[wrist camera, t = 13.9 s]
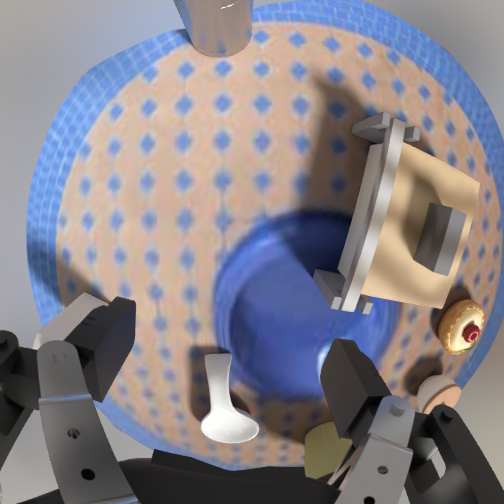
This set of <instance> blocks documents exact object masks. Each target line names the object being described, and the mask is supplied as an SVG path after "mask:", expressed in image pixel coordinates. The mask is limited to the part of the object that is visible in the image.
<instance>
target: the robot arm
mask: <svg viewBox="0 0 504 504" xmlns="http://www.w3.org/2000/svg"><path fill="white" fill-rule="evenodd" d="M174 3H175V5H176V7H177V9H178V11H179V14H180V16H181V18H182V20H183V23H184V25H185V27H186V30H187V32H188V35H189V37H190V39H191V41H192V43H193V46H194V47H195V48H196V49H197V50H198V51H199V52H200V53H202V54H204V55H206V56H210V57H227V56H230V55H233V54H236V53H238V52H239V51H241V50H242V49H244V48H245V46H246V45H247V44H248V43H249V41H250V38H251V33H252V16H253V0H174ZM135 321H136V303H135V301H133V300H129V299H126V298H122V297H118V296H117V297H116V298H115V299H114V300H113V301H112V302H111V303H110V304H109V305H108V306H105V305H102V306H99V307H97V308H95V309H93V310H92V311H91V312H90V313H89V314H88V315H87V316H86V317H85V318H84V319H83V320H82V321H81V323H79V324H78V325H77V326H76V327H75V328H74V329H73V330H72V332H71V333H70V334H69V335H68V336H67V337H66V338H65V339H64V340H63V341H62V340H53V341H48V342H46V343H44V344H43V345H41V346H40V347H39V349H38V350H35V349H29V348H24V347H19V343H18V339H17V337H16V335H14V334H13V333H12V332H9V331H4V330H1V331H0V470H1V468H2V466H3V464H4V462H5V460H6V458H7V456H8V454H9V452H10V450H11V449H12V447H13V445H14V443H15V441H16V439H17V437H18V436H19V434H20V432H21V430H22V428H23V427H24V425H25V423H26V422H27V420H28V418H29V417H30V415H31V413H32V412H33V410H34V409H36V410H40V415H41V420H42V426H43V431H44V436H45V440H46V445H47V449H48V453H49V457H50V461H51V464H52V467H53V471H54V474H55V478H56V481H57V484H58V487H59V489H56V490H54V491H51V492H49V493H46V494H43V495H41V496H38V497H35V498H32V499H29V500H26V501H24V502H21V503H17V504H398V501H399V498H400V496H401V492H402V490H403V487H405V490H406V493H407V496H408V498H409V502H410V504H504V490H503V488H502V486H501V485H500V483H499V481H498V479H497V477H496V475H495V473H494V472H493V470H492V468H491V466H490V465H489V463H488V461H487V459H486V458H485V456H484V454H483V452H482V451H481V449H480V447H479V446H478V445H477V442H476V441H475V439H474V438H473V436H472V434H471V433H470V431H469V430H468V428H467V427H466V425H465V423H464V422H463V420H462V419H461V417H460V416H459V414H458V413H457V412H456V411H455V410H454V409H453V408H451V407H449V406H447V405H443V404H439V405H436V406H434V408H433V409H432V410H431V412H430V413H429V414H424V413H418V412H415V410H414V408H413V406H412V405H411V404H410V403H409V402H408V401H407V400H405V399H404V398H401V397H399V396H394V395H392V394H391V393H390V391H389V389H388V387H387V386H386V384H385V382H384V381H383V379H382V377H381V376H379V372H378V371H377V369H376V367H375V366H374V364H373V362H372V361H371V359H370V358H368V357H367V356H366V355H365V354H364V353H363V352H360V350H359V348H358V347H357V345H356V343H355V342H354V341H353V340H348V339H338V338H336V339H335V340H334V341H333V343H332V345H331V347H330V350H329V352H328V355H327V357H326V359H325V362H324V364H323V366H322V369H321V374H320V381H321V384H322V387H323V390H324V393H325V396H326V399H327V402H328V406H329V409H330V412H331V415H332V418H333V421H334V424H335V427H336V430H337V433H338V437H339V440H348V439H351V440H352V444H351V445H350V447H349V448H348V450H347V452H346V453H345V455H344V457H343V459H342V460H341V462H340V464H339V465H338V467H337V469H336V470H335V472H334V474H333V475H332V477H331V478H330V480H329V481H328V483H325V482H323V481H320V480H318V479H314V478H311V477H306V475H305V469H304V467H273V466H268V467H262V468H255V469H247V470H238V471H229V470H225V469H222V468H219V467H216V466H213V465H211V464H208V463H205V462H202V461H200V460H197V459H195V458H192V457H187V456H182V455H178V454H173V453H169V452H164V451H160V450H156V449H154V452H153V456H152V458H135V459H128V460H124V461H119V462H117V460H116V457H115V455H114V453H113V451H112V449H111V446H110V444H109V442H108V439H107V437H106V434H105V432H104V429H103V427H102V424H101V422H100V419H99V416H98V414H97V411H96V408H95V405H94V402H93V400H95V401H98V402H101V403H102V402H103V400H104V398H105V396H106V394H107V392H108V390H109V388H110V387H111V385H112V383H113V381H114V379H115V377H116V376H117V374H118V372H119V370H120V369H121V367H122V365H123V363H124V361H125V360H126V358H127V356H128V354H129V353H130V351H131V349H132V347H133V344H134V340H135ZM438 450H439V452H440V454H441V456H442V458H443V460H444V462H445V465H446V470H445V474H444V475H443V476H442V477H441V478H439V475H438V473H437V471H436V469H435V466H434V464H433V463H432V460H431V458H432V456H433V455H434V454H435V453H436V452H437V451H438ZM1 502H2V496H1V485H0V503H1Z"/></svg>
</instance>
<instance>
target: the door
mask: <svg viewBox="0 0 504 504" xmlns="http://www.w3.org/2000/svg"><path fill="white" fill-rule="evenodd" d="M405 126H406V123H405V122H403V121H400V120H398V119H396V118H391V119H390V123H389V127H386V131H385V136H384V141H383V146H382V151H381V156H380V161H379V165H378V169H377V174H376V178H375V182H374V186H373V190H372V194H371V198H370V202H369V206H368V210H367V213H366V217H365V221H364V224H363V228H362V231H361V234H360V238H359V241H358V244H357V248H356V251H355V254H354V257H353V260H352V263H351V267H350V270H349V273H348V276H347V279H346V281H345V284H344V287H343V290H342V293H341V297H342V300H341V303H340V305H339V307H340V309H341V310H344V311H350V312H354V310H355V307H356V305H357V302H358V299H359V297H360V294H363V295H368V296H374V297H379V298H384V299H390V300H395V301H400V302H406V303H411V304H417V305H422V306H428V307H434V308H440V309H442V308H443V306H444V303H445V301H446V298H447V296H448V293H449V291H450V288H451V286H452V283H453V280H454V278H455V275H456V272H457V269H458V266H459V263H460V260H461V257H462V254H463V251H464V248H465V245H466V241H467V238H468V234H469V230H470V227H471V223H472V219H473V215H474V211H475V206H476V202H477V197H478V192H479V187H480V183H478V182H477V181H475V180H474V179H472V178H470V177H469V176H467V175H465V174H464V173H462V172H460V171H459V170H457V169H455V168H453V167H451V166H450V165H448V164H446V163H444V162H442V161H440V160H439V159H437V158H435V157H433V156H431V155H429V154H427V153H425V152H423V151H421V150H419V149H417V148H415V147H413V146H411V145H408V144H406V143H404V142H403V138H404V132H405Z"/></svg>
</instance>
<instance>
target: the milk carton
mask: <svg viewBox="0 0 504 504" xmlns="http://www.w3.org/2000/svg"><path fill="white" fill-rule="evenodd" d="M102 305H105V306H108V305H109V304H108V303H106V302H104V301H102V300H100V299H98V298H96V297H94V296H92V295H90V294H88V293H86V292H84V293H83V294H81V295H80V296H79V297H78V298H77V299H75V300H74V301H73V302H72V303H71V304H70V305H68V306H67V307H66V308H65V309H64V310H63V311H61V312H60V313H59V314H58V315H57V316H56V317H55V318H54V319H52V320H51V321H50V322H49V323H48V324H47V325H46V326H45V327H43V328H42V330H40V331H39V332H38V334H37V337H36V339H35V342H34V345H33V348H32V349H35V350H38V349H39V347H40V346H41V345H43V344H44V343H46V342H48V341H53V340H62V341H63V340H64V339H65V338H66V337H67V336H68V335H69V334H70V333H71V332H72V330H73V329H74V328H75V327H76V326H77V325H78V324H79V323H81V321H82V320H83V319H84V318H85V317H86V316H87V315H88V314H89V313H90V312H91V311H92V310H93V309H95V308H97V307H99V306H102Z"/></svg>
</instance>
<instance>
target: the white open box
mask: <svg viewBox="0 0 504 504" xmlns="http://www.w3.org/2000/svg"><path fill="white" fill-rule="evenodd" d="M390 117H391V115H390V114H388V113H386V112H382V113H379V114H377V115H374V116H372V117H369V118H367V119H364V120H362V121H359V122H357V123H355V124H353V126H352V131H351V134H353V135H355V136H358V137H361V138H364V139H366V140H369V141H371V142H374V143H377V144H376V145H370V149H369V153H368V158H367V162H366V167H365V171H364V175H363V179H362V184H361V188H360V192H359V195H358V199H357V203H356V207H355V211H354V214H353V218H352V221H351V225H350V229H349V232H348V235H347V239H346V242H345V246H344V249H343V252H342V255H341V259H340V262H339V265H338V268H337V269H338V270H339V272H340V273H341V274H338V273H333V272H329V271H324V270H319V269H315V272H314V275H313V280H314V281H315V283H316V285H317V286H318V288H319V290H320V291H321V293H322V294H323V296H324V298H325V299H326V301H327V303H328V304H329V306H330V308H332V309H338V308H339V305H340V303H341V300H342V297H341V293H342V290H343V287H344V284H345V281H346V279H347V276H348V273H349V270H350V267H351V263H352V260H353V257H354V254H355V251H356V248H357V244H358V241H359V238H360V234H361V231H362V228H363V224H364V221H365V217H366V213H367V210H368V206H369V202H370V198H371V194H372V190H373V186H374V182H375V178H376V174H377V169H378V165H379V161H380V156H381V151H382V146H383V141H384V136H385V131H386V127H389V123H390ZM420 132H421V129H419V128H417V127H415V126H413V127H409V128H405V132H404V138H403V142H404V143H406V142H414V141H419V138H420ZM372 305H373V303H372V302H371V301H370V300H369V298H368V297H367V296H366V295H363V294H360V297H359V299H358V302H357V305H356V306H357V307H358V309H359V310H360V311H361V312H362V314H369V313H370V310H371V308H372Z"/></svg>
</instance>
